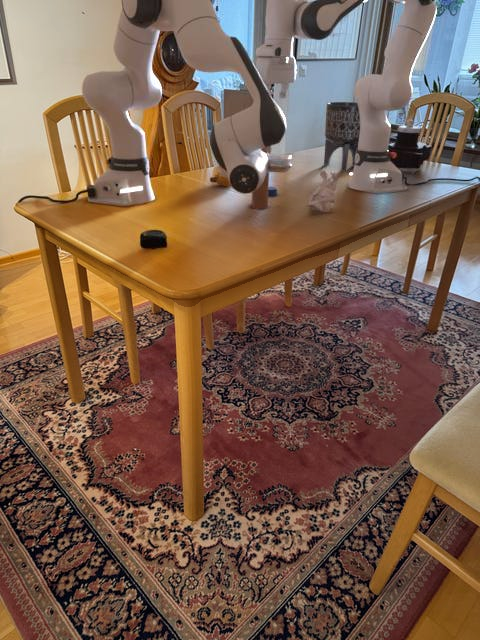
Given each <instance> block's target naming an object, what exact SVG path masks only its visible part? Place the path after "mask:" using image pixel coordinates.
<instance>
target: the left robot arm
mask: <svg viewBox="0 0 480 640" xmlns="http://www.w3.org/2000/svg"><path fill="white" fill-rule="evenodd" d="M217 15H218V14H217V12H216V10H215V8H214V6H213V4H212V1H211V0H121V11H120V14H119V17H118V24H117V27H116V32H115V37H114V41H113V52H114V55H115V57H116V59H117V61H118V62H119V63H120V64H121V65H122V66H123V67H124V69H123V70H119V71H117V70H116V71H115V70H114V71H113V70H111V71H110V70H107V71H104V70H103V71H98V72H93V73H90V74H87V75H86V76H85V77H84V79H83V81H82V86H81V93H82V94H81V95H82V97H83V99H84V101H85V104H86V105H87V106H88V107H89V108H90V109H91V110H93V111H94V112H95V113H96V114H97V115H98V116H99V117H100V118H101V119H102V121H103V122H104V124H105V126H106V129H107V131H108V135H109V140H110V145H111V153H112V155H111V156H110V157H109V158H108V159H106V163H105V164H106V165H108V168H107V169H106V170H105V171H104V172H102V174H101V175H99V176H98V177H97V178H96V179H95V181H94V183H93V184H87V185H86V189H84V190H80V191H78V192H77V193H76V194H75V197H74V198H72V199H65V200H64V199H54V198H51V197H50V196H46V195H44V196H43V195H34V194H33V195H32V194H31V195H30V194H29V195H25V196H22V197H21V198H20V199H19V200H18V201H17V203H22V202H23V201H24V200H28V199H42V200H48V201H50V202H52V203H56V204H58V203H59V204H66V203H67V204H68V203H73V202H76V201H77V200H79V196H80V195H82V194H85V193H87V201H88V202H89V203H95V204H101V205H110V206H119V207H130V206H134V205H142V204H147V203H150V202H152V201H154V200H155V199H156V196H155V195H154V190H153V187H152V184H151V178H150V162H149V156H148V154H147V144H146V143H147V141H146V133H145V131H144V130H143V128H142V127H141V126H139V125H138V124H136V123H134V122H133V121H132V120H131V118H130V115H129V112H131V111H144V110H148V109H151V108H154V107H156V106H158V105H159V104H160V102H161V99H162V97H163V96H162V95H163V89H162V84H161V82H160V80H159V79H158V77H157V75H155V74H154V72H153V59H154V56H155V52H156V48H157V44H158V40H159V37H160V36H159V35H160V33H161V32H173V34H174V37H175V41H176V44H177V46H178V49H179V51H180V54H181V56H182V58H183V60H184V61H185V63H186V64H187V65H188V66H189V67H190V68H192V69H194V70H195V71H198V72H203V73H207V74H209V73H211V74H212V73H221V72H223V73H224V72H230V73H236V74H238V75H239V76H240V77H241V80H242V82H243V84H244V85H245V86H246V89H247V90H248V92H249V94H250V96H251V98H252V100H253V102H252V104H251V105H250V106H249V107H247V108H245V109H243V110H240V111H238V112H236V113H234V114H233V115H230V116H228V117H225V118H223V119H222V120H219V121H218V122H215V123H214V124H213V125H212V127H211V131H210V136H209V146H210V149H211V152H212V155H213V157H214V159H215V161H216V163H217V164H218V168H219V172H220V174H221V176H222V177H227V178H228V179H229V182H230V185H231V186H232V187H231V188H232V189H233V190H234V191H236V192H237V193H240V194H244V195H246V194H252V192H254V191H256V190H257V189H258V188H259V187H260V186H261V185H262V183H263V181H264V179H265V176H266V174H267V172H269V173H287V172H288V171H289V170H290V169H291V168H292V167H293V165H292V155H291V154H284V153H283V154H282V153H270V154H265V153H264V152H263V151H262V150H260V149H262V148H264V147H267V148H269V147H272V146H274V145H277V144H280V143H281V141H282V140H283V138H284V136H285V134H286V132H287V129H288V128H287V120H286V117H285V115H284V113H283V111H282V109H281V107H280V106H279V104H278V103H277V102H276V101H275V100H274V99H273V96H272V97H271V95H270V93H269V92H268V90H267V88H266V86H265V84H264V82H263V80H262V79H261V77H260V75H259V73H258V71H257V69H256V65H255V64H254V62H253V60H252V58H251V57H250V55H249V53H248V51H247V50H246V48H245V46H244V45H243V43H242V42H241V40H239V39H238V38H237V37H236V36H229V35H228V34H227V33H226V32H225V31H224V30H223V28H222V26H221V23H220V20H219V18H218V16H217Z"/></svg>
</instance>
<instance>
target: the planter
mask: <svg viewBox="0 0 480 640" xmlns="http://www.w3.org/2000/svg"><path fill="white" fill-rule="evenodd" d="M324 125H325V126H324V139H325V144H324V156H323V157H324V158H323V165H325V166H328V165H330V163H331V158H332V156H333V154H334V153H335V151H336V150H337V149H340V148H341V150H342V153H341V166H340V170H341V172H345V171H347V167H348V166H347V165H348V159H349V152H350V154H351V157H352V158H351V159H352V160H351V161H352V166H353V167H354V166H355V155H356V149H357V148H358V142H359V134H360V115H359V108H358V104H357V102H353V101H333V102H327V103H326V109H325V124H324Z"/></svg>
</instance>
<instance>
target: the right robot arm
mask: <svg viewBox="0 0 480 640" xmlns="http://www.w3.org/2000/svg"><path fill="white" fill-rule="evenodd" d="M368 1H369V0H311V1H308V0H266V6H265V7H266V9H265V20H264V23H265V30H266V31H265V36H264V43H262V45H260V46H259V47H257V48H256V50H255V56H256V57H257V58H256V61H255V67H256V69H257V71H258V73H259V75H260V77H261V79H262V80H263V82H264V84H265V86H266V88H267V90H268V92H269V93H270V95H271V97H272V98H273V93H271V92H272V91H271V89H272V85H279V84H280V87H281V88H280V92H279V96H278V97H279V99H282V100H283V99H286V98H287V92H288V89H289V87H290V86H289V85H290V84H294V83H295V81H296V77H297V75H296V74H297V71H296V70H297V63H296V58H295V55H294V53H293V44H294V43H293V42H294V38H296V39H298V40H315V41H321V40H322V41H323V40H324V39H326V38H328V37H329V36H330V35H331V34H332V33H333V32H334V31H335V29H336V28H337V26H338V25H339V23H340V22H341V21H342V20H343V18H345V17H346V16H347V15H349V14H350V13H351V12H353V11H354V10H356V8H358V7H359V6H361V5H362V4H363V3H366V2H368ZM388 1H389V2H391V3H394V4H401V3H403V10H402V14H401V17H400V18H399V20H398V22H397V24H396V26H395V28H394V30H393V32H392V33H391V37H390V39H389V40H388V43H387V45H386V47H385V48H384V58H385V65H384V69H383V71H382V74H377V73H374V74H373V73H371V74H368V75H365V76H362V77H361V78H359V79H358V80H357V81H356V83H355V85H354V87H353V98H354V100H355V103H357V104H358V108H359V115H360V134H359V142H358V148H357V149H356V155H355V166H353V171H352V172H349V176H350V180H349V182H348V184H347V187H348V188H350V189H352V190H355V191H359V192H367V193H372V194H386V193H387V194H388V193H393V192H394V193H395V192H404V191H408V186H420V185H423V184H427V183H429V182H433V181H453V182H454V181H455V182H472V181H473V180H478V181H480V177H479V176H474V177H472V178H470V179H461V178H449V177H447V178H446V177H444V178H443V177H440V178H439V177H438V178H429V179H427V180H424V181H422V182H417V183H413V184H412V183H408V179H407V177H406V176H405V175H406V174H405V173H404V172H402V171H400V170H399V169H398V168H397V167H396V166H395V165H394V164H393V163H392V162H391V161H390V157H392V158H395V157H396V156H397V154H395V152H390V151H388V146H389V144H390V141H391V140H390V139H391V135H392V127H391V124H390V123H389V120H388V116H387V112H393V111H394V112H395V111H399V110H402V109H404V108H405V107H407V106H408V104H409V103H410V102H411V100H412V96H413V85H412V82H411V80H412V79H411V78H412V72H413V68H414V66H415V63H416V60H417V58H418V57H419V54H420V52H421V50H422V48H423V46H424V44H425V42H426V40H427V38H428V36H429V34H430V31H431V29H432V26H433V24H434V21H435V18H436V14H437V5H436V3H435V0H388ZM403 182H404V183H403Z"/></svg>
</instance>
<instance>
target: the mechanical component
mask: <svg viewBox="0 0 480 640" xmlns="http://www.w3.org/2000/svg"><path fill="white" fill-rule="evenodd" d="M414 124H415V119H407V121H406V125H399V126H398V127H397V133H396V139H395V142H393V143H392V142H391V143H389V145H388V151H390V152H395V154H397V156H396V157H395V158H392V157H390V161H391V162H392V163H393V164H394V165H395V166H396V167H397V168H398V169H399V170H400V171H401V172H410V174H415V173H416V171H419V170H420V169H421V168H423V166H424V162H425V161H428V160H430V157H431V154H432V148H433V146H432V145H429V144H427V143H425V142H420V141H419V137H420V133H421V129H422V128H421V127H420V126H416V125H414Z"/></svg>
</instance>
